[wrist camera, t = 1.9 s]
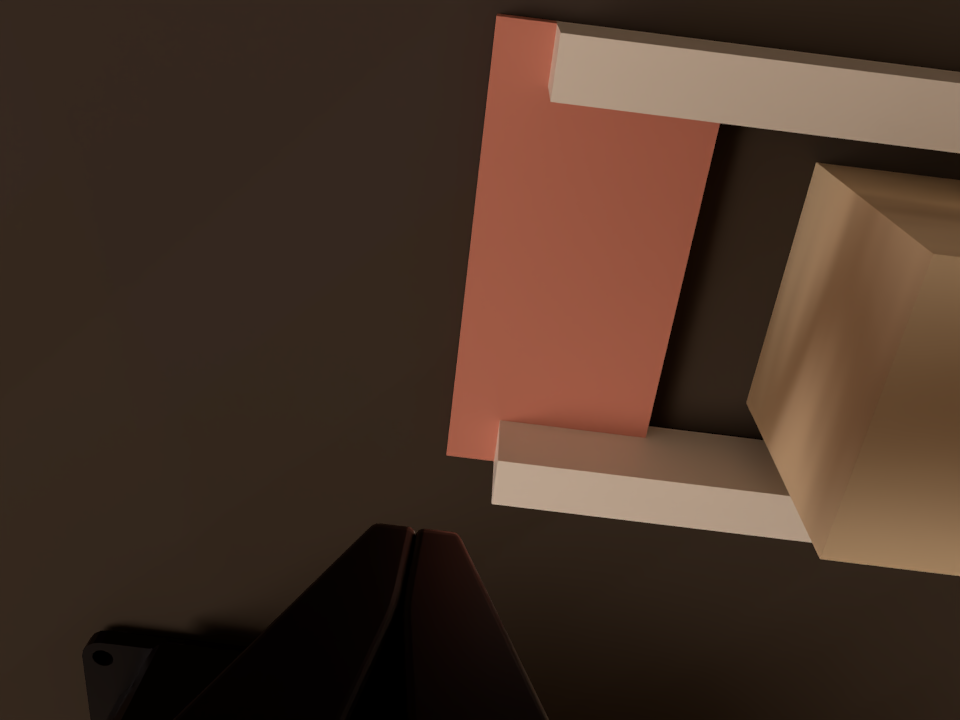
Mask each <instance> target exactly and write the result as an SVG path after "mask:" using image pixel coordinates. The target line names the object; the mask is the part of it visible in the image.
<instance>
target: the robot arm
mask: <svg viewBox="0 0 960 720" xmlns="http://www.w3.org/2000/svg"><path fill="white" fill-rule="evenodd" d="M105 651H106V652H105ZM107 652H108V653H107ZM82 657H83V664H84V672H85V680H86V687H87V695H88V703H89V710H90V718H91V720H549V719H548V717H547V714H546V712H545V710H544V708H543V706H542V704H541V702H540V700H539V698H538V696H537V694H536V692H535V690H534V688H533V686H532V684H531V682H530V679H529V677H528V675H527V673H526V671H525V669H524V667H523V665H522V663H521V661H520V659H519V657H518V655H517V653H516V651H515V649H514V646H513V644H512V642H511V640H510V638H509V636H508V634H507V632H506V630H505V628H504V626H503V624H502V622H501V620H500V618H499V616H498V614H497V611H496V609H495V607H494V605H493V603H492V601H491V599H490V597H489V595H488V593H487V591H486V589H485V587H484V585H483V583H482V581H481V579H480V576H479V574H478V572H477V570H476V568H475V566H474V564H473V562H472V560H471V558H470V556H469V554H468V552H467V550H466V548H465V546H464V544H463V541H462V540H461V538H460V536H459V535H458V534H456V533H454V532H448V531H439V530H431V529H421V530H419V531H418V532H417V533H416V536H415V532H414V530H413V529H412V528H411V527H406V526H397V525H389V524H381V523H380V524H374V525H372V526H371V527H370V528H369V529H368V530H367V531H366V532H365V533H364V534H363V535H362V536H361V537H360V538H359V539H358V540H356V541H355V542H354V543H353V544H352V545H351V546H350V547H349V548H348V549H347V550H346V551H345V552H344V553H343V554H342V555H341V556H340V557H339V558H338V559H337V560H336V561H335V562H334V563H333V564H332V565H331V566H330V567H329V568H328V569H327V570H326V571H325V572H324V573H323V574H322V575H321V576H320V577H319V578H318V579H317V580H316V581H315V582H313V583H312V584H311V585H310V586H309V587H308V588H307V589H306V590H305V591H304V592H303V593H302V594H301V595H300V596H299V597H298V598H297V599H296V600H295V601H294V602H293V603H292V604H291V605H290V606H289V607H288V608H287V609H286V610H285V611H284V612H283V613H282V614H281V615H280V616H279V617H278V618H277V619H276V620H275V621H274V622H273V623H272V624H270V625H269V626H268V627H267V628H266V629H265V630H264V631H263V632H262V633H261V634H260V635H259V636H258V637H257V638H256V639H255V640H254V641H253V642H252V643H251V644H250V645H249V646H248V647H240V646H232V645H223V644H215V643H206V642H198V641H190V640H181V639H173V638H164V637H156V636H148V635H139V634H131V633H122V632H114V631H100V632H97V633H95V634H94V635H93V636H92V637H91V638H90V640H89V641H88V643H87V645H86V646H85V648H84V650H83V655H82Z"/></svg>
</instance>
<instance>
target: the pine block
mask: <svg viewBox="0 0 960 720" xmlns="http://www.w3.org/2000/svg"><path fill="white" fill-rule="evenodd" d="M746 403H747V405H748V408H749V410H750V412H751V414H752V416H753V418H754V420H755V422H756V425H757V427H758V429H759V431H760V433H761V435H762V437H763V439H764V442H765V444H766V446H767V448H768V450H769V452H770V454H771V456H772V458H773V461H774V463H775V465H776V467H777V469H778V471H779V473H780V475H781V478H782V480H783V482H784V484H785V486H786V488H787V490H788V492H789V495H790V497H791V499H792V501H793V503H794V505H795V507H796V509H797V511H798V514H799V516H800V518H801V520H802V522H803V524H804V526H805V528H806V531H807V533H808V535H809V537H810V539H811V541H812V543H813V545H814V548H815V550H816V552H817V554H818V556H819V558H820V559H823V560H832V561H840V562H848V563H856V564H865V565H873V566H881V567H889V568H898V569H906V570H914V571H923V572H931V573H939V574H947V575H956V576H960V180H955V179H947V178H938V177H930V176H922V175H914V174H906V173H898V172H890V171H882V170H874V169H866V168H858V167H850V166H841V165H833V164H825V163H817V162H816V165H815V168H814V172H813V175H812V179H811V182H810V186H809V189H808V192H807V196H806V199H805V203H804V206H803V210H802V213H801V216H800V220H799V223H798V227H797V230H796V234H795V237H794V241H793V244H792V247H791V251H790V254H789V258H788V261H787V265H786V268H785V272H784V275H783V278H782V282H781V285H780V289H779V292H778V296H777V299H776V302H775V306H774V309H773V313H772V316H771V320H770V323H769V327H768V330H767V333H766V337H765V340H764V344H763V347H762V351H761V354H760V358H759V361H758V364H757V368H756V371H755V375H754V378H753V382H752V385H751V388H750V392H749V395H748V399H747V402H746Z"/></svg>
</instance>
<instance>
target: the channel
mask: <svg viewBox="0 0 960 720" xmlns="http://www.w3.org/2000/svg"><path fill="white" fill-rule="evenodd" d="M720 123H723V124H730V125H738V126H746V127H754V128H762V129H770V130H778V131H786V132H794V133H802V134H810V135H818V136H826V137H834V138H842V139H850V140H858V141H866V142H874V143H882V144H890V145H898V146H906V147H913V148H921V149H929V150H937V151H945V152H953V153H960V72H956V71H948V70H940V69H933V68H925V67H917V66H909V65H901V64H893V63H885V62H877V61H869V60H861V59H854V58H846V57H838V56H830V55H822V54H814V53H806V52H798V51H790V50H782V49H775V48H767V47H759V46H751V45H743V44H735V43H727V42H719V41H711V40H703V39H696V38H688V37H680V36H672V35H664V34H656V33H648V32H640V31H632V30H624V29H617V28H609V27H601V26H593V25H585V24H577V23H569V22H561V21H553V20H546V19H538V18H530V17H522V16H514V15H506V14H498V13H497V16H496V25H495V34H494V43H493V51H492V60H491V69H490V78H489V86H488V95H487V104H486V113H485V122H484V130H483V139H482V148H481V157H480V165H479V174H478V183H477V192H476V200H475V209H474V218H473V227H472V235H471V244H470V253H469V262H468V271H467V279H466V288H465V297H464V306H463V314H462V323H461V332H460V341H459V349H458V358H457V367H456V376H455V384H454V393H453V402H452V411H451V420H450V428H449V437H448V446H447V455H448V456H456V457H464V458H473V459H481V460H489V461H494V468H493V486H492V503H491V504H497V505H505V506H513V507H522V508H530V509H538V510H546V511H555V512H563V513H571V514H579V515H588V516H596V517H604V518H612V519H621V520H629V521H637V522H646V523H654V524H662V525H670V526H679V527H687V528H695V529H703V530H712V531H720V532H728V533H736V534H745V535H753V536H761V537H770V538H778V539H786V540H794V541H803V542H811V543H812V541H811V539H810V537H809V535H808V533H807V531H806V528H805V526H804V524H803V522H802V520H801V518H800V516H799V514H798V511H797V509H796V507H795V505H794V503H793V501H792V499H791V497H790V495H789V492H788V490H787V488H786V486H785V484H784V482H783V480H782V478H781V475H780V473H779V471H778V469H777V467H776V465H775V463H774V461H773V458H772V456H771V454H770V452H769V450H768V448H767V446H766V444H765V442H764V440H758V439H750V438H742V437H734V436H725V435H717V434H709V433H701V432H693V431H685V430H676V429H668V428H660V427H652V426H649V422H650V417H651V413H652V409H653V405H654V400H655V396H656V392H657V388H658V383H659V379H660V375H661V371H662V367H663V362H664V358H665V354H666V350H667V345H668V341H669V337H670V333H671V328H672V324H673V320H674V316H675V312H676V307H677V303H678V299H679V295H680V290H681V286H682V282H683V278H684V273H685V269H686V265H687V261H688V257H689V252H690V248H691V244H692V240H693V235H694V231H695V227H696V223H697V218H698V214H699V210H700V206H701V202H702V197H703V193H704V189H705V185H706V180H707V176H708V172H709V168H710V164H711V159H712V155H713V151H714V147H715V142H716V138H717V134H718V130H719V125H720Z"/></svg>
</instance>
